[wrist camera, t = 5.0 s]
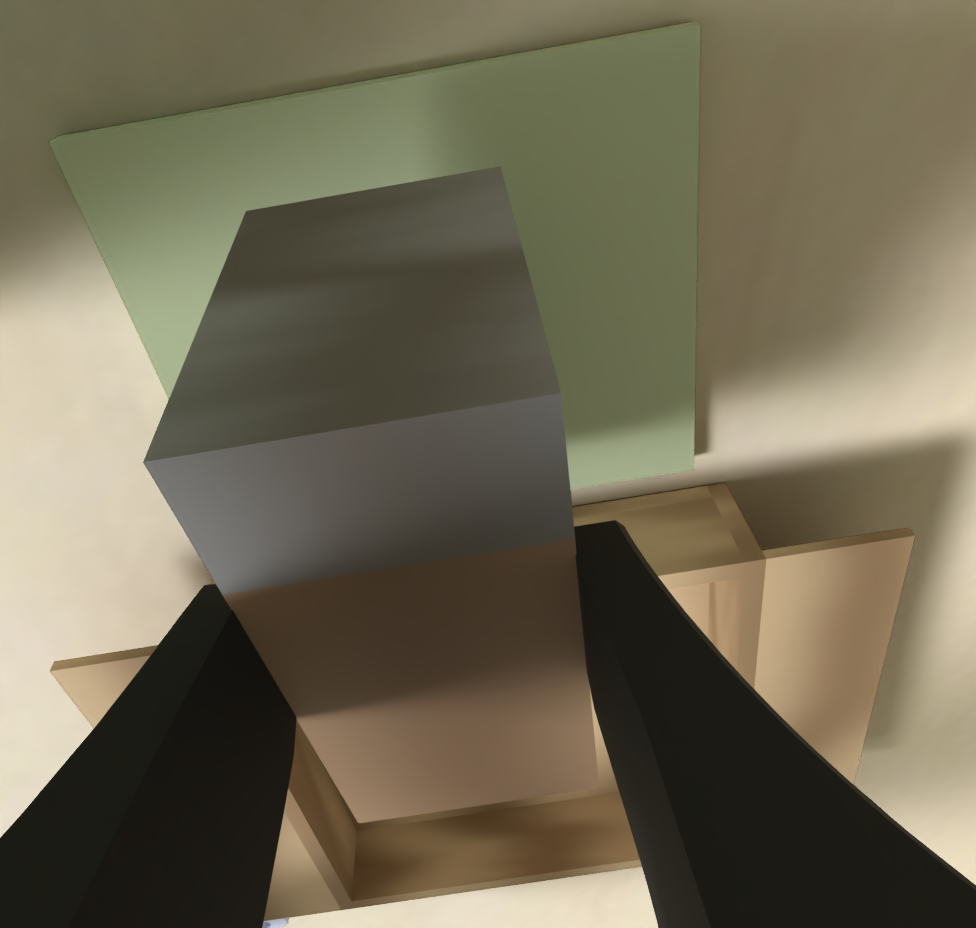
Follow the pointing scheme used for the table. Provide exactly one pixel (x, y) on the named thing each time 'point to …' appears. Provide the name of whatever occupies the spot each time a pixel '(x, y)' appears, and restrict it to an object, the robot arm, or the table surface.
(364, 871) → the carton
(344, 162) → the olive mat
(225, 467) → the brown rectangular block
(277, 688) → the robot arm
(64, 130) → the table surface
